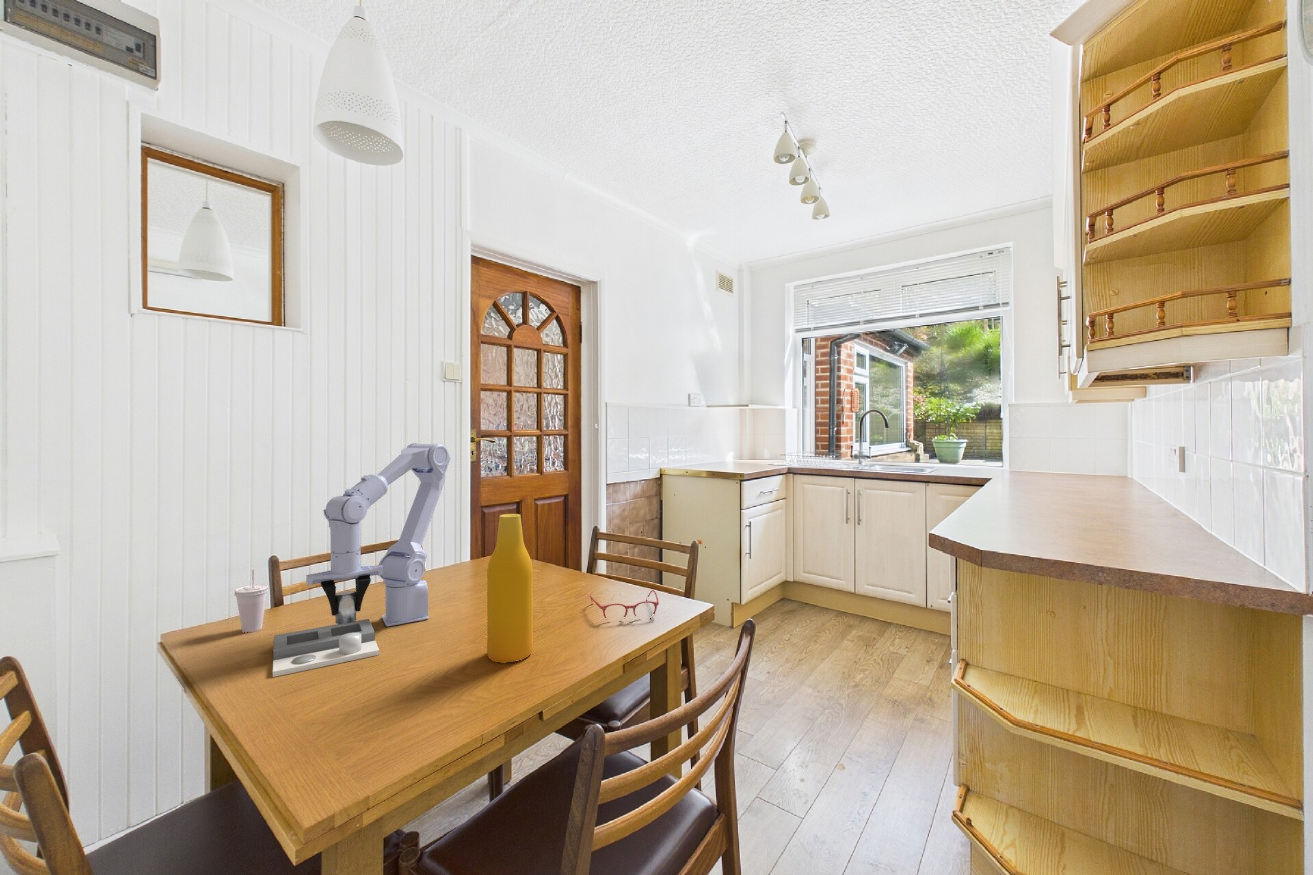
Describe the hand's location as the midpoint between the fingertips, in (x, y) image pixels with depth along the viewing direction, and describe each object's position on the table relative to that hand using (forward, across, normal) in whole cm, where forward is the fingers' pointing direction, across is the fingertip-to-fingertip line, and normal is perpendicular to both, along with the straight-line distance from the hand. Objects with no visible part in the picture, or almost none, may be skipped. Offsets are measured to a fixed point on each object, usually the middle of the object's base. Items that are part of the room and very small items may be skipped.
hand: (346, 612), depth 119 cm
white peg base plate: (+6, +4, +9) cm, 12 cm away
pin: (+2, 0, 0) cm, 2 cm away
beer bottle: (+7, -26, +28) cm, 39 cm away
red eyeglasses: (+7, -60, +20) cm, 64 cm away
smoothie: (+7, +16, -21) cm, 27 cm away
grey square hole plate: (+6, +4, 0) cm, 8 cm away
